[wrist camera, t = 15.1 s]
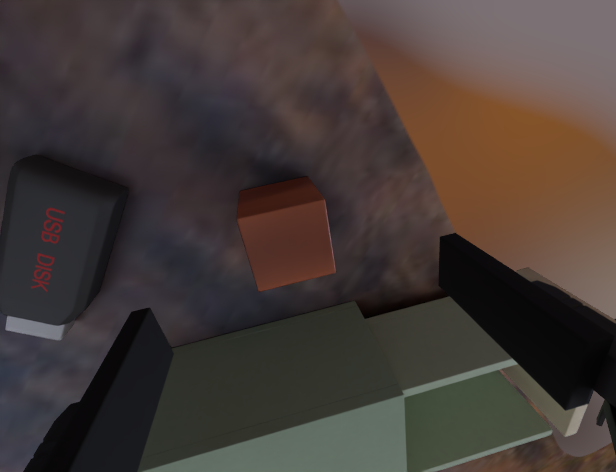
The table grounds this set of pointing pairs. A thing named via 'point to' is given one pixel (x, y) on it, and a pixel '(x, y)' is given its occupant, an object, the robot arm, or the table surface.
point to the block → (285, 233)
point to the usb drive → (54, 244)
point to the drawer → (462, 385)
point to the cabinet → (281, 401)
